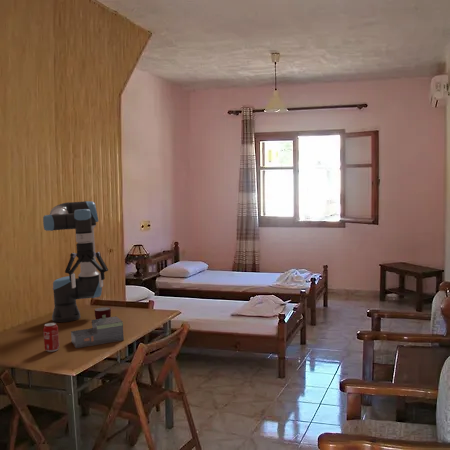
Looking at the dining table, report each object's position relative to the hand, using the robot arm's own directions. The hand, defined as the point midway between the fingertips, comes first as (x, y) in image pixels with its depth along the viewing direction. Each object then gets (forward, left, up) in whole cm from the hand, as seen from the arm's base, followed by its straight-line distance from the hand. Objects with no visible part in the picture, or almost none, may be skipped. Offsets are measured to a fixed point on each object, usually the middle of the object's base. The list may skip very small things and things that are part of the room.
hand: (87, 287), depth 260 cm
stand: (+2, +2, -27) cm, 27 cm away
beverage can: (+5, -19, -26) cm, 32 cm away
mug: (-19, +9, -26) cm, 33 cm away
